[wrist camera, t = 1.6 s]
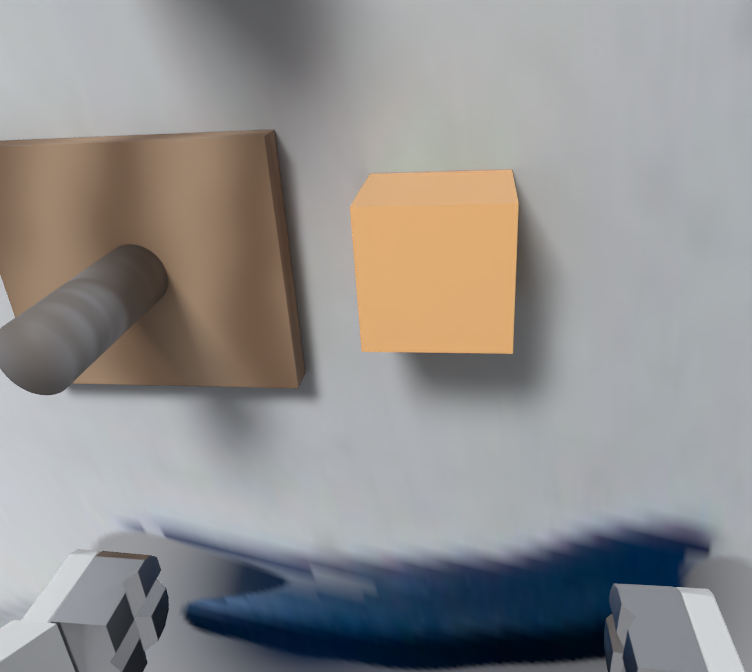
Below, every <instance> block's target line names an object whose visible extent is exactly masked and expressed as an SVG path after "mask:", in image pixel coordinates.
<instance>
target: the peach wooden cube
mask: <svg viewBox="0 0 752 672" xmlns="http://www.w3.org/2000/svg"><path fill="white" fill-rule="evenodd" d="M518 207H519V202H518V197H517V192H516V187H515V182H514V177H513V172H512V170H485V171H451V172H417V173H383V174H370V175H369V176H368V178H367V180H366V181H365V183H364V185H363V186H362V188H361V190H360V191H359V193H358V194H357V196H356V198H355V199H354V201H353V203H352V204H351V206H350V213H351V226H352V238H353V250H354V262H355V275H356V287H357V299H358V311H359V324H360V336H361V348H362V352H422V353H504V354H513V336H514V310H515V284H516V258H517V232H518Z"/></svg>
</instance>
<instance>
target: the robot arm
mask: <svg viewBox="0 0 752 672" xmlns="http://www.w3.org/2000/svg"><path fill="white" fill-rule="evenodd" d="M160 571H161V568H160V566H159V562H158V560H157V557H155V556H151V555H141V554H130V553H119V552H108V551H92V550H80V549H78V550H76V551H74V552H73V553H71V554H70V555H69V556H68V557H67V558H66V560H65V561H64V563H63V564H62V565H61V567H60V568H59V569H58V571H57V572H56V574H55V575H54V576H53V578H52V579H51V580H50V582H49V583H48V584H47V586H46V587H45V589H44V590H43V591H42V593H41V594H40V595H39V597H38V598H37V599H36V601H35V602H34V604H33V605H32V606H31V608H30V609H29V610H28V612H27V613H26V614H25V616H24V617H23V619H22V620H13V621H11V622H10V623H8V624H6V625H5V626H3V627H2V628H0V672H143V671H144V669H145V667H146V665H147V659H146V655H145V651H146V650H147V649H148V648H149V647H151V646H152V645H153V644H155V643H156V642H157V641H158V640H159V638H160V636H161V634H162V632H163V629H164V627H165V623H166V619H167V615H168V610H169V607H168V606H169V603H168V594H167V590H166V587H165V586H163V585H162V584H161V583H160V582H159V581H158V580H157V577H158V575H159V573H160ZM609 601H610V606H611V610H612V614H611V615H610V616H609V617H607V618H606V624H605V633H604V636H605V656H606V664H607V669H608V672H745V669H744V667H743V664H742V662H741V660H740V657H739V655H738V652H737V650H736V648H735V646H734V643H733V641H732V638H731V636H730V634H729V631H728V629H727V626H726V624H725V621H724V619H723V617H722V614H721V612H720V609H719V607H718V605H717V603H716V600H715V598H714V595H713V594H712V593H711V592H710V590H709V589H700V588H682V587H676V588H674V587H668V586H649V585H629V584H613V586H612V588H611V592H610V597H609Z"/></svg>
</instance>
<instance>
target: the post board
mask: <svg viewBox="0 0 752 672" xmlns="http://www.w3.org/2000/svg"><path fill="white" fill-rule="evenodd" d="M0 275H1V278H2V280H3V283H4V286H5V289H6V292H7V295H8V298H9V301H10V303H11V306H12V309H13V312H14V315H15V318H14V319H13V320H12V321H10V322H9V323H7V324H6V325H4V326H3V327H2V328H1V329H0V369H1V370H2V371H3V373H4V374H5V375H6V376H7V377H8V378H9V379H10V380H11V381H12V382H14V383H15V384H16V385H18V386H19V387H21V388H23V389H24V390H27V391H29V392H32V393H35V394H40V395H53V394H57V393H60V392H62V391H64V390H65V389H66V388H67V387H68V386H69V385H70V384H71V383H75V384H122V385H169V386H217V387H264V388H299V386H300V384H301V381H302V379H303V377H304V375H305V365H304V357H303V350H302V342H301V334H300V326H299V318H298V311H297V303H296V295H295V287H294V280H293V272H292V264H291V256H290V248H289V241H288V233H287V225H286V217H285V209H284V202H283V194H282V186H281V178H280V171H279V163H278V155H277V147H276V139H275V132H274V130H253V131H228V132H204V133H179V134H155V135H130V136H106V137H81V138H56V139H32V140H7V141H0Z"/></svg>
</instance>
